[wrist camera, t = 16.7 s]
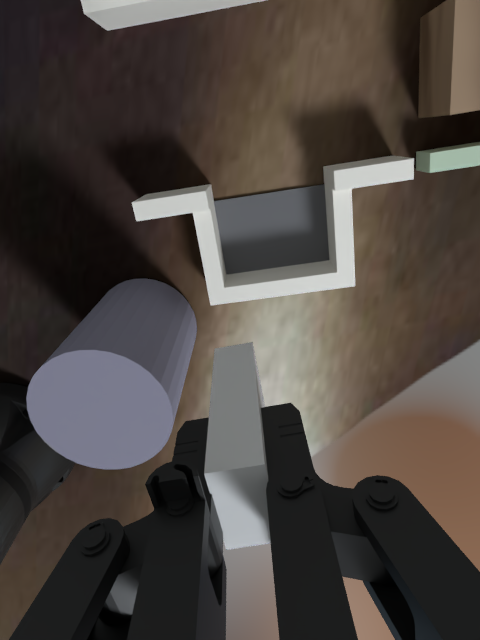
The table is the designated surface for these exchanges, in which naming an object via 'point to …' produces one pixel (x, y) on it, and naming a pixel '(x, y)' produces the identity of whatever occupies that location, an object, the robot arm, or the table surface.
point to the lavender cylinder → (116, 378)
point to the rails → (448, 158)
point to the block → (450, 59)
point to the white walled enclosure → (260, 202)
